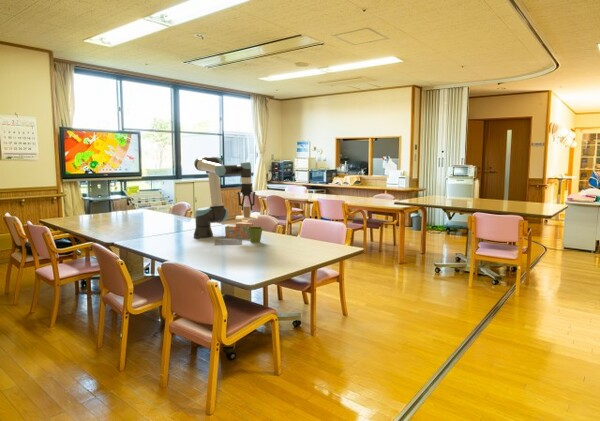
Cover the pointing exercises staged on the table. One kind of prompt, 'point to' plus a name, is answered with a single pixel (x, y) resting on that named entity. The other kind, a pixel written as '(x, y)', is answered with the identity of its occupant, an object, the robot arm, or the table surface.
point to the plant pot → (255, 234)
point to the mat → (228, 242)
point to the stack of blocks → (238, 230)
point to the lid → (246, 214)
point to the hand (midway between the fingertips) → (247, 214)
